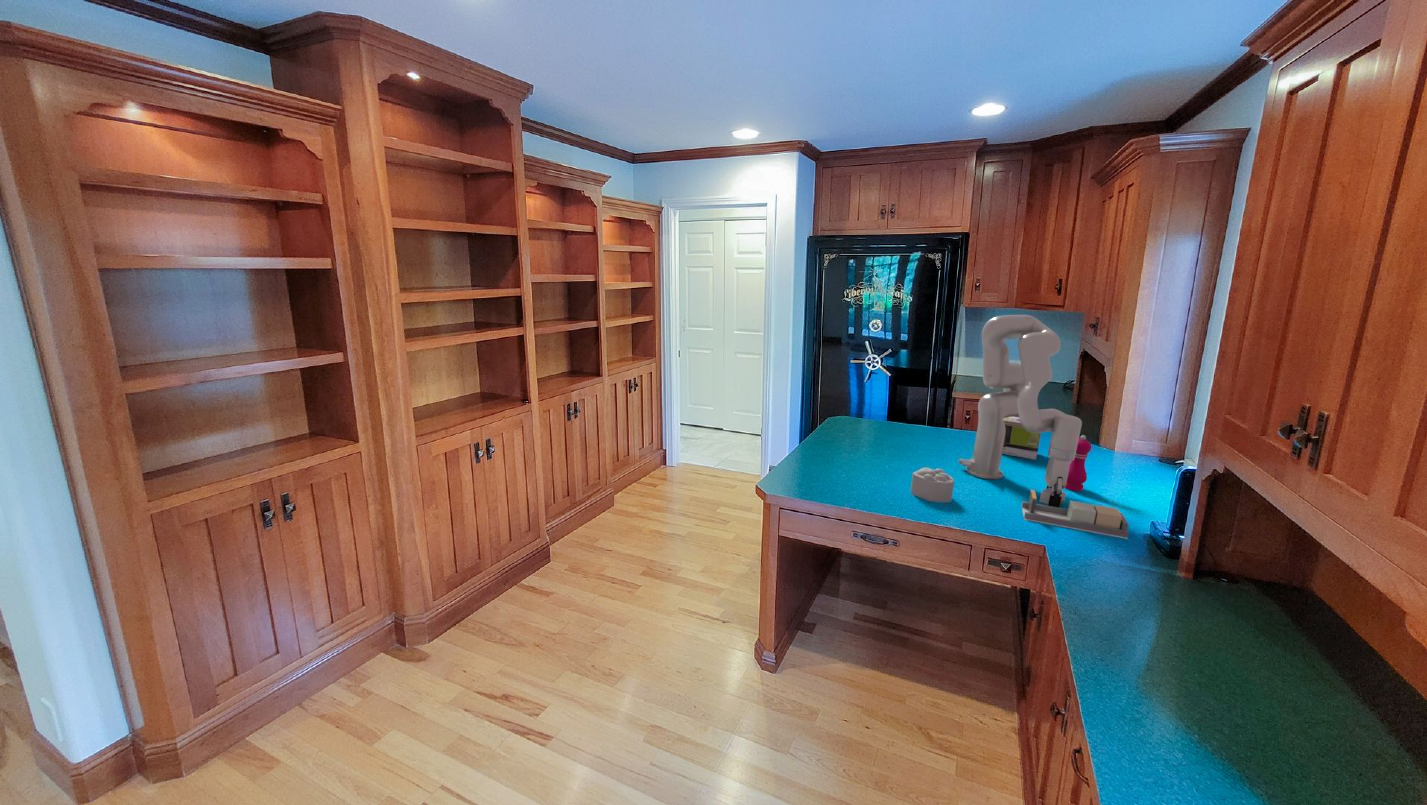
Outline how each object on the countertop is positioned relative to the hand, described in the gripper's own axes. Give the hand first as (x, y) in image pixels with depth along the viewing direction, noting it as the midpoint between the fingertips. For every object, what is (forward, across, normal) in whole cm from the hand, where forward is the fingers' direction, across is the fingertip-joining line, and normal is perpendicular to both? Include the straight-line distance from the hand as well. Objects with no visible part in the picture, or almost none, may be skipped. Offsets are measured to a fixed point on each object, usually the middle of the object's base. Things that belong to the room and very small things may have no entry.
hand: (1051, 501), depth 187 cm
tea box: (+1, -51, -7) cm, 52 cm away
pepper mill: (+1, -20, +9) cm, 22 cm away
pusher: (0, +13, -8) cm, 15 cm away
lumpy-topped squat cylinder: (+1, +10, -37) cm, 38 cm away
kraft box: (0, +13, +12) cm, 18 cm away
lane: (+1, +13, +4) cm, 14 cm away
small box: (+2, 0, 0) cm, 2 cm away
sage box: (0, +13, +6) cm, 14 cm away
